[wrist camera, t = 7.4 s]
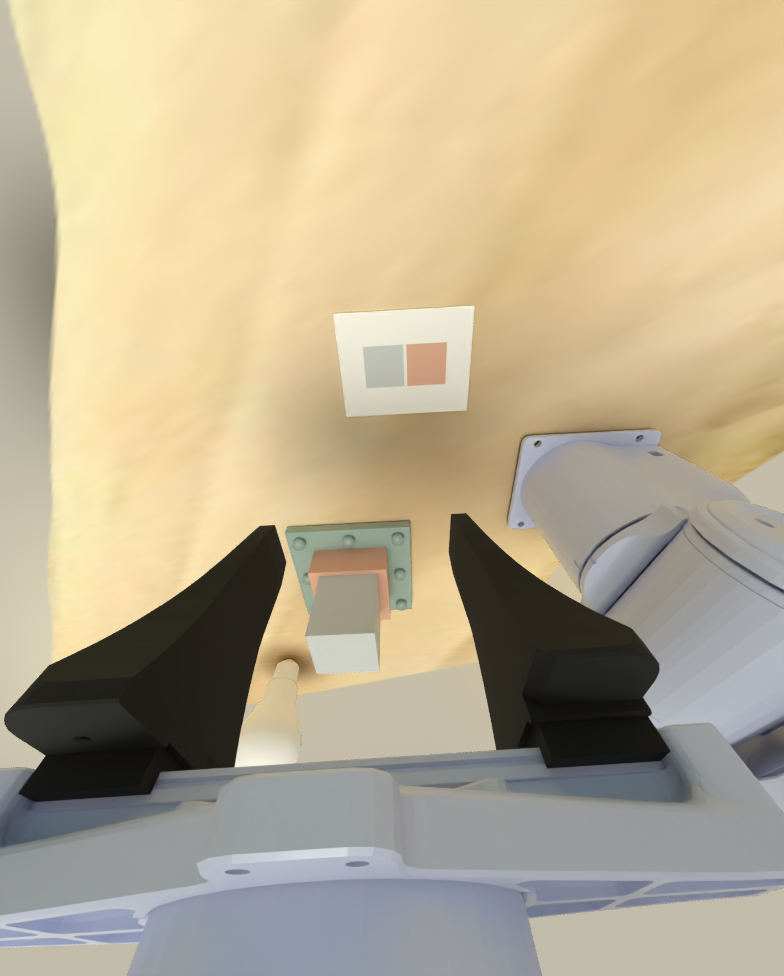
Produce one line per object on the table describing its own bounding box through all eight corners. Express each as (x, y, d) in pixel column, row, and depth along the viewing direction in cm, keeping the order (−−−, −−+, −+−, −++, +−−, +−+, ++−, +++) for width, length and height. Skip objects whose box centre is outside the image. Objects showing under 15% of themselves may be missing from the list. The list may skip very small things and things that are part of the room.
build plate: (409, 520, 25) (410, 530, 24) (411, 601, 31) (412, 613, 29) (287, 526, 25) (283, 537, 24) (310, 606, 31) (307, 618, 30)
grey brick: (376, 573, 24) (374, 633, 20) (380, 610, 26) (379, 671, 22) (319, 576, 24) (305, 636, 20) (328, 613, 26) (317, 674, 22)
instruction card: (474, 305, 18) (474, 305, 17) (466, 409, 21) (466, 410, 21) (333, 313, 18) (332, 313, 18) (346, 416, 21) (346, 417, 21)
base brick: (386, 547, 26) (386, 569, 24) (390, 595, 29) (390, 619, 27) (314, 550, 26) (307, 573, 24) (325, 599, 29) (321, 622, 27)
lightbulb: (303, 680, 38) (275, 807, 28) (254, 665, 36) (207, 796, 26) (326, 655, 35) (304, 786, 26) (274, 638, 33) (231, 771, 24)
